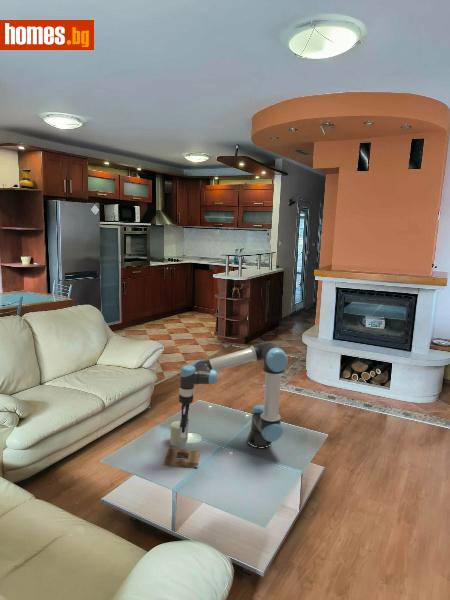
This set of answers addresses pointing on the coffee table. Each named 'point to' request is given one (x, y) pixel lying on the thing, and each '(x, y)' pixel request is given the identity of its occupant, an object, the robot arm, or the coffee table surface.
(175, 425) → the can
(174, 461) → the jig
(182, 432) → the robot arm
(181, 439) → the grey square block
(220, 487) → the coffee table surface
